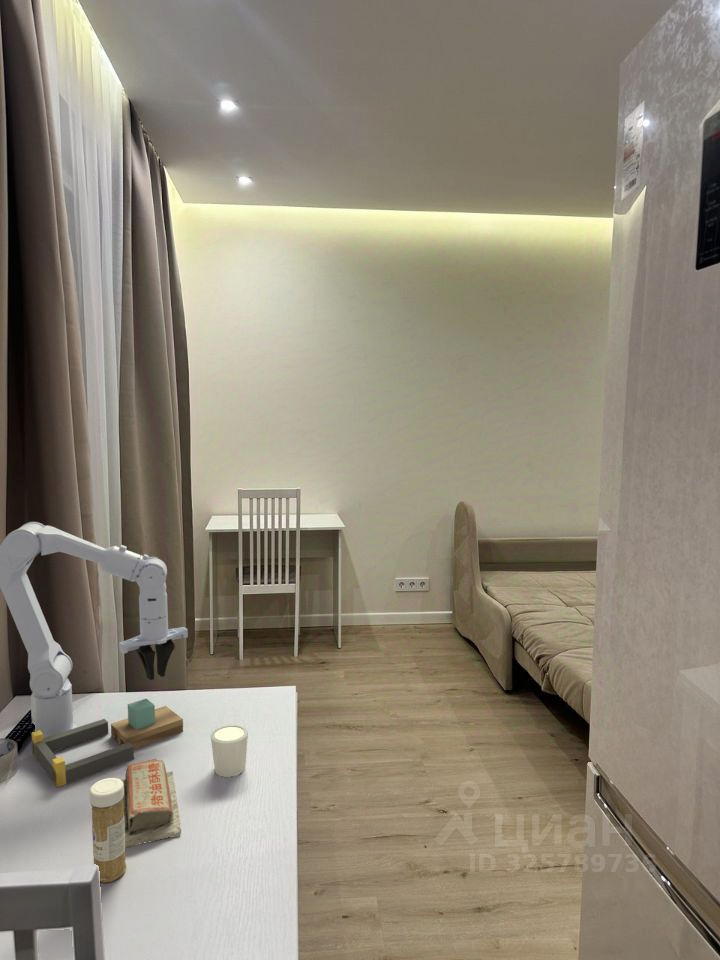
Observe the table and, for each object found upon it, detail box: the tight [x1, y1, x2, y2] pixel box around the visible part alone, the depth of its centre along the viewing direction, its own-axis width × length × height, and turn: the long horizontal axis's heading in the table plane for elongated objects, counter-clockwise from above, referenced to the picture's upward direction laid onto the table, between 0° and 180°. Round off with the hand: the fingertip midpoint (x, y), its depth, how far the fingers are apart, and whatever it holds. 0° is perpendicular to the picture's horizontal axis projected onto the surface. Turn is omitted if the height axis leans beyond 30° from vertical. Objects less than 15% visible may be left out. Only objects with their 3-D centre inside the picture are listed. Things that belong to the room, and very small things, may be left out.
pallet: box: [110, 705, 184, 750], centre depth 131 cm, size 8×12×3 cm, turn 132°
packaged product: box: [119, 758, 182, 848], centre depth 106 cm, size 18×5×10 cm
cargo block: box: [127, 698, 156, 730], centre depth 130 cm, size 4×4×4 cm
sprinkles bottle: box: [89, 777, 127, 883], centre depth 91 cm, size 5×5×14 cm
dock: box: [31, 718, 135, 788], centre depth 122 cm, size 15×14×4 cm
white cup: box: [210, 724, 249, 778], centre depth 118 cm, size 7×7×7 cm
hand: (155, 676), depth 136 cm, fingers closed
